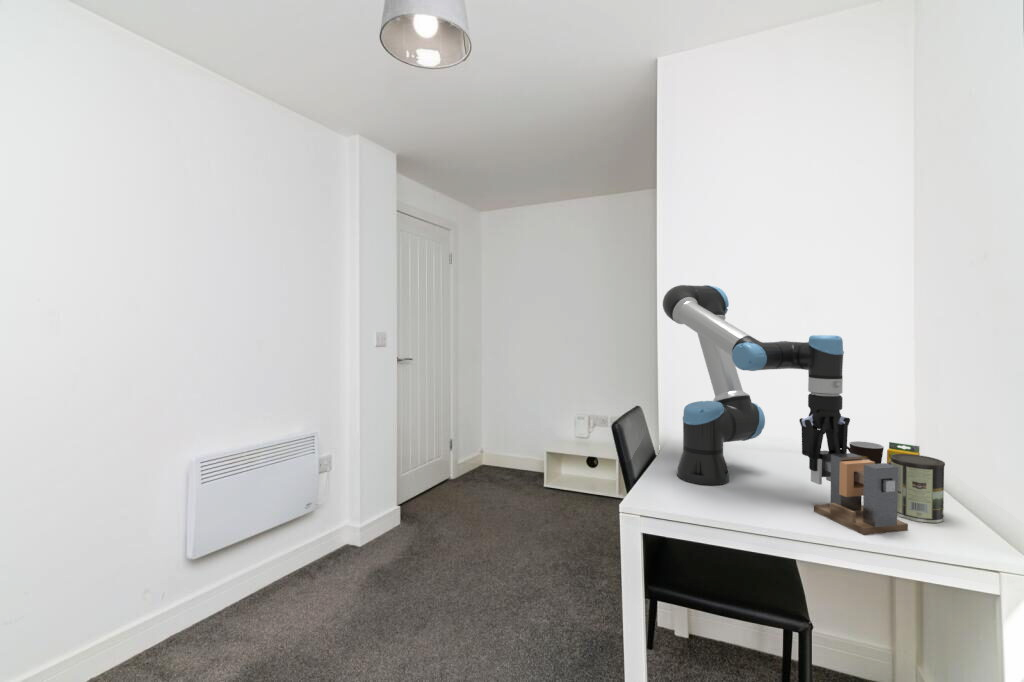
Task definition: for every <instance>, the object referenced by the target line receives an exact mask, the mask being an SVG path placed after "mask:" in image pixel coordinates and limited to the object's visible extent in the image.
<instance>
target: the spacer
mask: <svg viewBox="0 0 1024 682" xmlns="http://www.w3.org/2000/svg"><path fill="white" fill-rule="evenodd" d="M867 464H875V462H873V461H870V460H857V461H843V462H840V474H839V494H840V495H843V496H845V497H853V496H862V497H863V493H864V484H862V483H860V484H858V485H854V472H858V471H864V465H867Z"/></svg>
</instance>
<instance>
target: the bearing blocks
mask: <svg viewBox="0 0 1024 682" xmlns="http://www.w3.org/2000/svg"><path fill="white" fill-rule="evenodd" d="M857 460H862V456H859V455H856V454H853V453H850V452H847V453H846V454H831V482H830V503H836V504H838V505H841V506H843V507H845V508H848V509H850V510H852V511H857V510H861V505H863V522H864V523H867V524H869V525H871V526H873V527H883V526H893V525H897V520H898V515H897V500H898V467H897V466H893V465H890V464H887V462H883V463H882V462H881V464H867V465H864V493H863V496H853V497H845V496H843V495H840V494H839V474H840V462H843V461H857ZM881 479H891V480H894V481H895V491H892V492H885V491H882V490H881ZM858 484H860V483H859V482H857V481H854V485H858ZM862 497H863V499H862ZM862 500H863V504H862ZM830 503H829V504H830Z"/></svg>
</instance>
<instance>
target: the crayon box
mask: <svg viewBox="0 0 1024 682" xmlns="http://www.w3.org/2000/svg"><path fill="white" fill-rule="evenodd" d="M903 446H904V447H907V448H903ZM893 454H913V455H921V453H920V445H912V444H906V443H898V442H891V441H889V442H888V449H887V451H886V463H887V464H890V465H891V455H893Z"/></svg>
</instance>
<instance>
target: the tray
mask: <svg viewBox="0 0 1024 682" xmlns="http://www.w3.org/2000/svg"><path fill="white" fill-rule="evenodd" d="M813 512H814V513H816V514H818V515H821V516H823V517H825V518H827V519H829V520H831V521H834V522H835V523H838V524H840V525H842V526H844V527H846V528H848V529H850V530H853V531H854V532H857V533H859V534H861V535H863V536H867V535H875V534H877V535H878V534H886V533H895V532H907V531H909V526H908V525H909V524H908V523H907V522H905V521H901V520H899V519H897V525H893V526H883V527H873V526H871V525H869V524H867V523H864V522H863V504H861V510H857V511H852V510H850V509H848V508H845V507H843V506H841V505H838V504H836V503H827V504H815V505H813Z"/></svg>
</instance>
